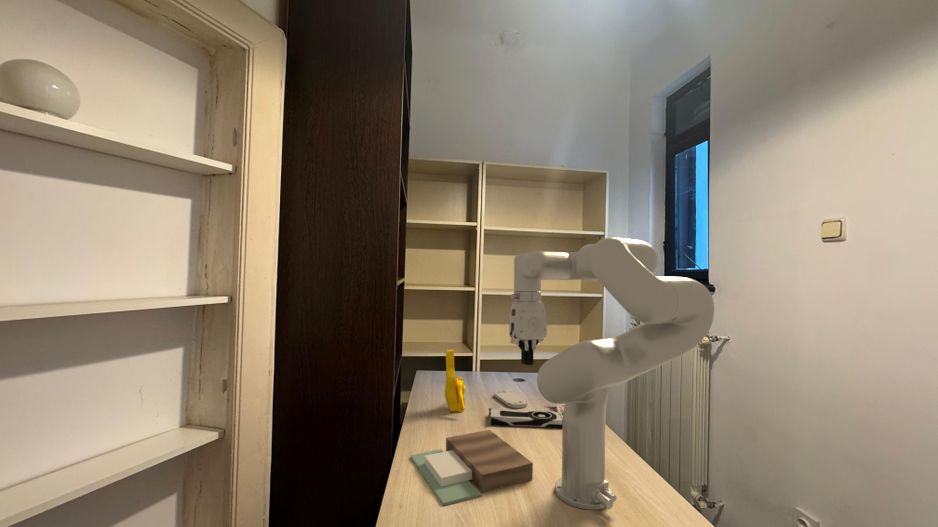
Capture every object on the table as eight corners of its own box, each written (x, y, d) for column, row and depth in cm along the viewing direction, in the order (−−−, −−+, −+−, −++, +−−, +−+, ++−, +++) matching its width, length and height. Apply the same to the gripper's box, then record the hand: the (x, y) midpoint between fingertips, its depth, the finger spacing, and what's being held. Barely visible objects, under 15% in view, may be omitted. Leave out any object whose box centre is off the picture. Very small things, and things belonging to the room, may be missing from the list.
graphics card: (488, 407, 136) (559, 410, 135) (488, 416, 136) (559, 419, 134) (487, 417, 126) (564, 421, 125) (487, 428, 126) (564, 431, 125)
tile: (472, 479, 92) (472, 470, 93) (441, 486, 89) (441, 478, 89) (452, 457, 103) (452, 450, 103) (424, 463, 100) (424, 455, 100)
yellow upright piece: (469, 418, 134) (470, 355, 134) (446, 419, 132) (448, 355, 133) (461, 401, 151) (462, 345, 152) (442, 402, 150) (443, 345, 150)
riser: (532, 479, 94) (532, 462, 94) (482, 492, 88) (482, 475, 88) (489, 443, 114) (489, 429, 114) (445, 452, 108) (446, 437, 108)
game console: (530, 401, 146) (511, 404, 143) (530, 408, 146) (511, 410, 143) (509, 388, 163) (491, 390, 160) (509, 394, 162) (491, 396, 159)
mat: (480, 496, 87) (480, 493, 87) (443, 505, 83) (443, 503, 83) (441, 451, 108) (441, 449, 108) (410, 457, 104) (410, 455, 104)
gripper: (513, 298, 100) (513, 370, 99) (557, 298, 107) (557, 364, 106) (497, 297, 106) (497, 364, 105) (539, 296, 114) (539, 359, 113)
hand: (527, 364), depth 106 cm, fingers closed
